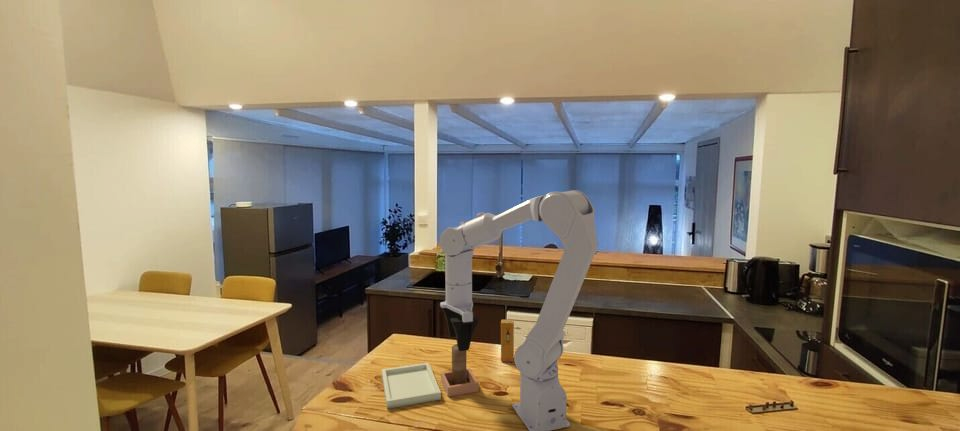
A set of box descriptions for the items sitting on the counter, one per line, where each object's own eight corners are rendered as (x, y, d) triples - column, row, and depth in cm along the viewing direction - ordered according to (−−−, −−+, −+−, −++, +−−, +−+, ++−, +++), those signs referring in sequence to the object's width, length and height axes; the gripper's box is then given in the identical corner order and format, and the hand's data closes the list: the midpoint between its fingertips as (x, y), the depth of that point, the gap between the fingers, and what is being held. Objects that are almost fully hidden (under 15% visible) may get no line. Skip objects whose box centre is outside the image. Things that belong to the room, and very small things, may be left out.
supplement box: (513, 356, 104) (514, 318, 103) (513, 362, 100) (514, 323, 99) (501, 355, 104) (501, 318, 103) (500, 362, 101) (500, 323, 100)
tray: (441, 399, 84) (440, 392, 84) (387, 408, 80) (386, 401, 80) (428, 368, 97) (428, 362, 97) (381, 375, 94) (381, 369, 94)
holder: (478, 391, 87) (478, 382, 87) (447, 396, 85) (447, 387, 85) (469, 376, 93) (469, 368, 93) (440, 381, 91) (440, 372, 91)
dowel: (468, 388, 88) (468, 349, 87) (454, 391, 87) (453, 351, 86) (464, 381, 91) (464, 343, 90) (450, 383, 90) (450, 345, 89)
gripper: (433, 275, 92) (434, 332, 94) (448, 293, 79) (448, 359, 80) (463, 273, 95) (463, 329, 96) (482, 289, 81) (482, 354, 82)
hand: (459, 342), depth 88 cm, fingers open, 7 cm apart
